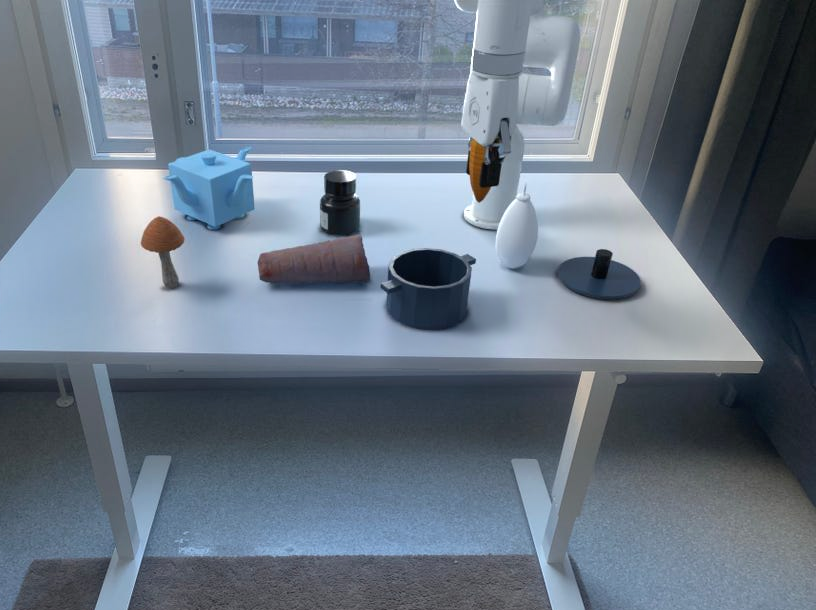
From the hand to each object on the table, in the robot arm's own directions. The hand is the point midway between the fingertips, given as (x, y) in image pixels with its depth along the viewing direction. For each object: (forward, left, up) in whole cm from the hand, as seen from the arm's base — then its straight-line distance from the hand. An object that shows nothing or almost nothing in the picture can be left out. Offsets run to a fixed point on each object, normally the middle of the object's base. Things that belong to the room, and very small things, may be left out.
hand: (482, 178), depth 115 cm
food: (-17, -25, -25) cm, 40 cm away
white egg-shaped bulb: (-13, +15, -25) cm, 32 cm away
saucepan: (-2, -7, -25) cm, 26 cm away
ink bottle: (-38, -15, -25) cm, 48 cm away
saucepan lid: (-4, +29, -25) cm, 38 cm away
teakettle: (-49, -41, -25) cm, 69 cm away
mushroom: (-20, -53, -25) cm, 62 cm away
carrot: (0, 0, -4) cm, 4 cm away
